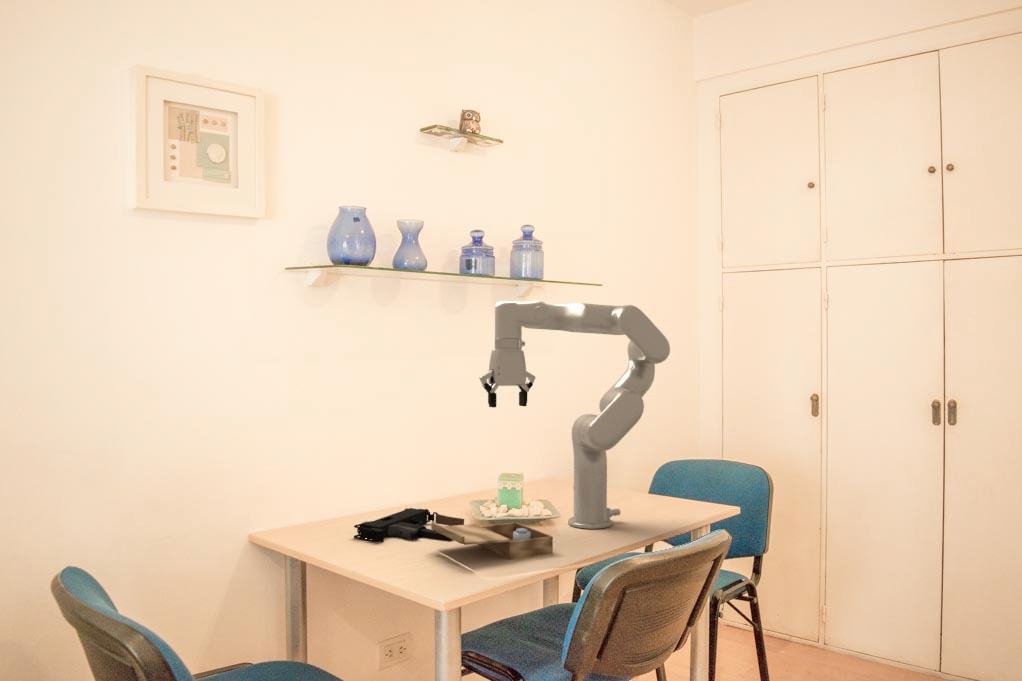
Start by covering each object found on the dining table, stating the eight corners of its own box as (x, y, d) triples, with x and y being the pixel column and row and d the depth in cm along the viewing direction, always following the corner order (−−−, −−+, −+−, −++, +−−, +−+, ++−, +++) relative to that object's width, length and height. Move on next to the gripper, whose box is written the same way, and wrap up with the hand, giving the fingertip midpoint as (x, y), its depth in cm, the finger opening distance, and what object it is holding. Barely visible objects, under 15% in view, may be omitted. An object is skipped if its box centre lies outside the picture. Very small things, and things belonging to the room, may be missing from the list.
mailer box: (516, 539, 208) (516, 522, 208) (552, 555, 193) (552, 536, 193) (475, 544, 202) (475, 527, 202) (510, 561, 187) (510, 542, 187)
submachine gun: (488, 515, 221) (414, 502, 233) (430, 540, 196) (351, 524, 207) (487, 531, 222) (414, 518, 233) (429, 558, 196) (350, 541, 207)
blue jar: (524, 543, 202) (524, 526, 202) (533, 547, 198) (533, 530, 198) (509, 545, 199) (510, 528, 200) (518, 549, 196) (518, 532, 196)
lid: (430, 521, 196) (430, 529, 196) (462, 537, 180) (462, 545, 180) (475, 519, 202) (475, 526, 202) (510, 534, 187) (510, 541, 187)
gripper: (527, 345, 227) (527, 404, 227) (474, 345, 219) (474, 406, 219) (541, 345, 221) (541, 406, 221) (487, 345, 212) (486, 408, 212)
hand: (507, 406), depth 220 cm, fingers open, 9 cm apart
